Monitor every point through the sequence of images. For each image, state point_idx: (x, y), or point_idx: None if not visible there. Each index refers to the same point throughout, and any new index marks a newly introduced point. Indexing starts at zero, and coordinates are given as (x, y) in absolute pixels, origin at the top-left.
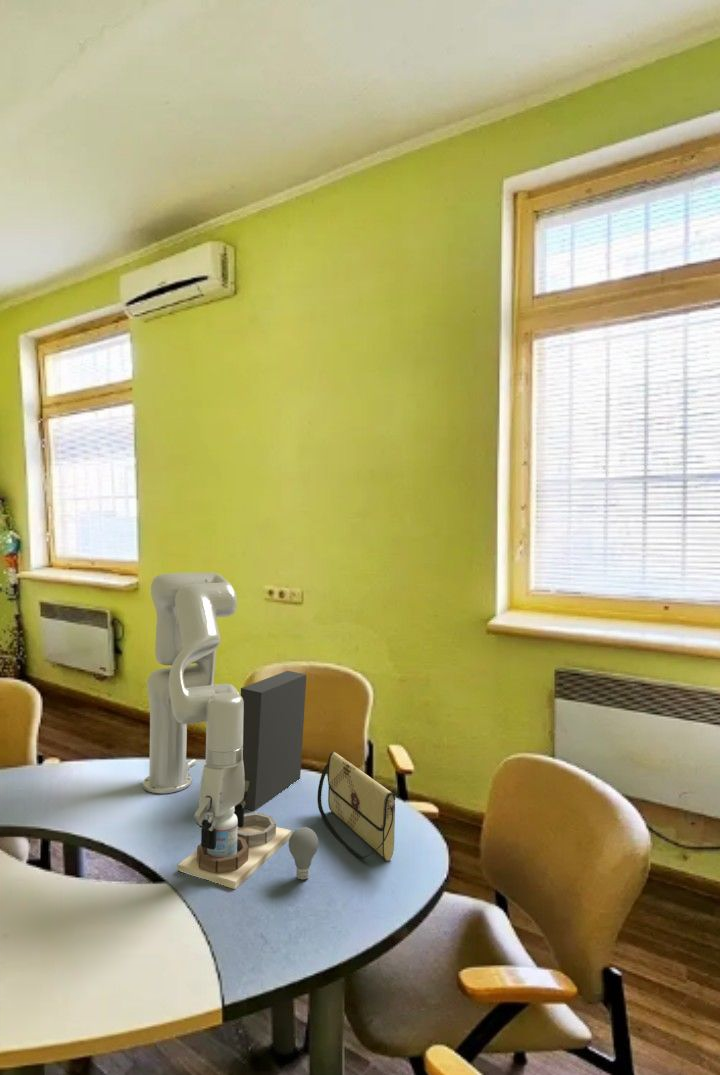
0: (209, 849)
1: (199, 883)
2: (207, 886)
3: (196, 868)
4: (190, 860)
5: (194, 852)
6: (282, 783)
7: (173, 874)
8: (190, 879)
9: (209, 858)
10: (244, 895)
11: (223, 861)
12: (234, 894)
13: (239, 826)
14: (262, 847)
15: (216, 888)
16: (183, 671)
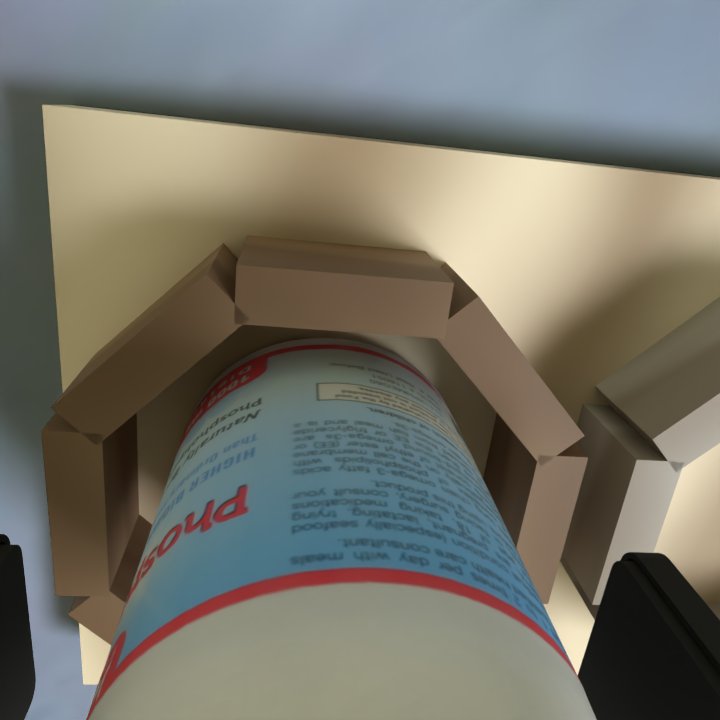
0: (169, 479)
1: (28, 392)
2: (28, 466)
3: (82, 333)
4: (172, 195)
5: (326, 143)
6: None
7: (14, 87)
8: (34, 292)
9: (69, 525)
10: (74, 706)
11: (111, 639)
12: (50, 657)
13: (584, 676)
14: (574, 629)
15: (43, 532)
16: None
